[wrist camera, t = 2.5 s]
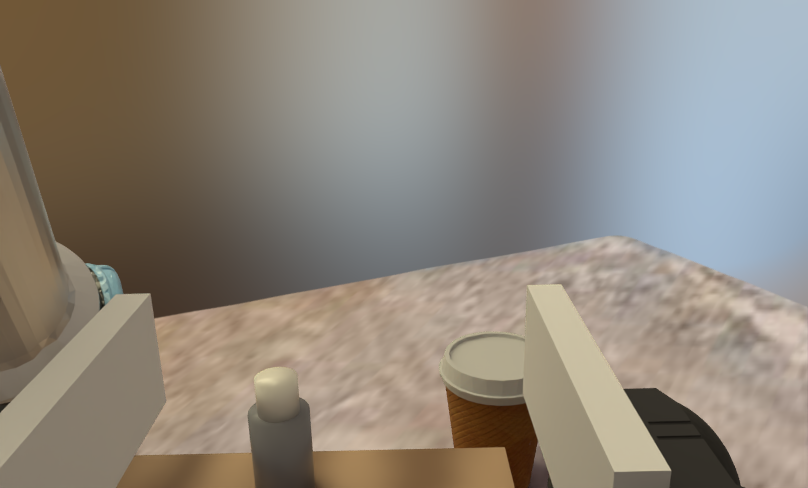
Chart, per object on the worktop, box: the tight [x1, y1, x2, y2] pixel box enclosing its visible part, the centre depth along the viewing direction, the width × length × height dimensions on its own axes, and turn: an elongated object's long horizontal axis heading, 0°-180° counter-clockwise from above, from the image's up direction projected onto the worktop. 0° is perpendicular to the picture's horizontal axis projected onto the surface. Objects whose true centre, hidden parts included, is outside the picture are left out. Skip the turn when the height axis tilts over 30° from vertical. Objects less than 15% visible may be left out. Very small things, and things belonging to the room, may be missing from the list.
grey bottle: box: [248, 367, 315, 488], centre depth 37 cm, size 3×3×7 cm
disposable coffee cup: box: [439, 332, 538, 488], centre depth 59 cm, size 10×10×12 cm
